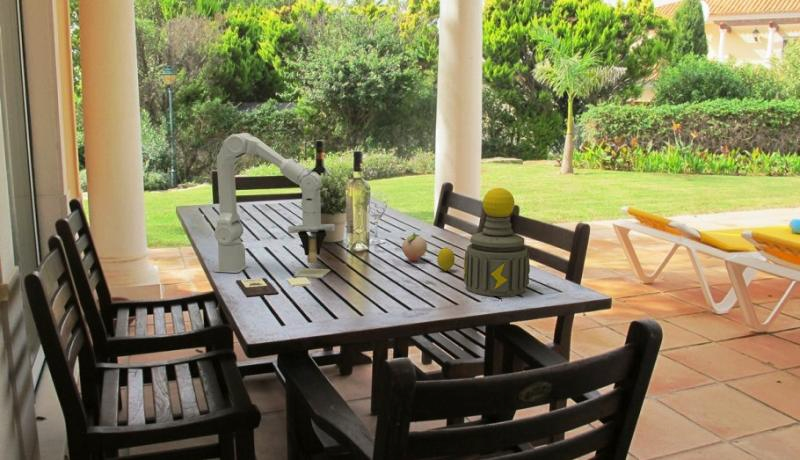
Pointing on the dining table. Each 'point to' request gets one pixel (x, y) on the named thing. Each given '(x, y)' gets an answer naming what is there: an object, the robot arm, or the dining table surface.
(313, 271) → the mat
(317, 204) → the robot arm
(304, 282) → the tile
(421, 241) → the decorative fruit
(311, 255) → the dowel
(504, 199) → the decorative lamp
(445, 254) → the lemon
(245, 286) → the chocolate bar
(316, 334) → the dining table surface
